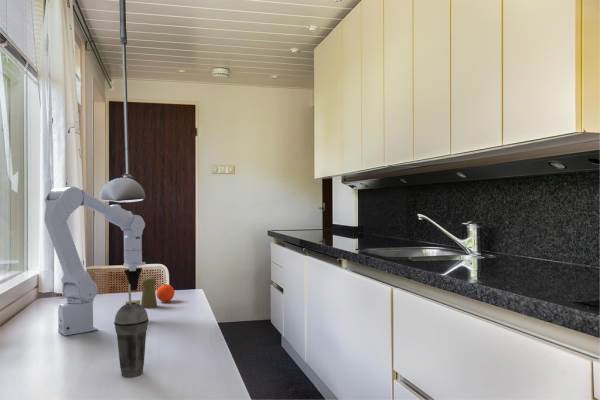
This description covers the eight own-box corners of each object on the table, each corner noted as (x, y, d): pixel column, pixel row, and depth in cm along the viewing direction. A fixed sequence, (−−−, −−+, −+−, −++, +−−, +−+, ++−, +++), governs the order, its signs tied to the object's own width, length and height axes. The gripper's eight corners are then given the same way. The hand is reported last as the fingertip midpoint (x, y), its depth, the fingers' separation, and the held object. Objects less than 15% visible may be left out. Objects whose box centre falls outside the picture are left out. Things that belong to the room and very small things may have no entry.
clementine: (156, 300, 192) (156, 282, 192) (174, 299, 194) (173, 281, 194) (156, 304, 184) (156, 285, 184) (175, 302, 186) (174, 284, 186)
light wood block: (126, 320, 156) (125, 301, 156) (140, 318, 157) (140, 299, 158) (125, 321, 154) (125, 302, 154) (140, 320, 156) (140, 300, 156)
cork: (159, 305, 182) (159, 276, 182) (153, 308, 176) (152, 278, 176) (144, 305, 183) (144, 276, 183) (137, 308, 177) (137, 278, 177)
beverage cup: (153, 367, 108) (152, 280, 109) (144, 379, 101) (142, 285, 101) (121, 368, 108) (120, 281, 109) (109, 380, 101) (108, 286, 101)
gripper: (145, 251, 155) (145, 292, 155) (145, 248, 169) (145, 285, 169) (122, 252, 153) (122, 294, 153) (124, 248, 167) (125, 287, 167)
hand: (133, 290), depth 161 cm, fingers closed
